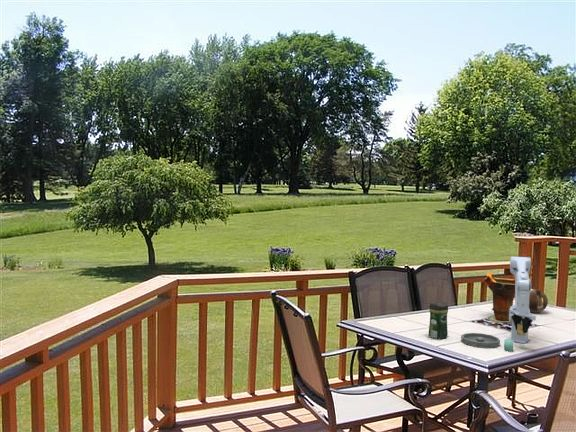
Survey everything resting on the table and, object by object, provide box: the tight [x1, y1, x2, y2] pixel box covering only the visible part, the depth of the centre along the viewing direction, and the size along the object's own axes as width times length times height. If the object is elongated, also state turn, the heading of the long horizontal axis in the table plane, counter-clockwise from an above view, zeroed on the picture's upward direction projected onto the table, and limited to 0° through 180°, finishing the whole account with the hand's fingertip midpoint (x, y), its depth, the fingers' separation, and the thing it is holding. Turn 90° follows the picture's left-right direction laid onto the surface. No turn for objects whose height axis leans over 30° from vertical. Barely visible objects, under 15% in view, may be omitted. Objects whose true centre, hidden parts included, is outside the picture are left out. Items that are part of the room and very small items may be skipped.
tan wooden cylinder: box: [517, 323, 526, 336], centre depth 261 cm, size 4×4×5 cm
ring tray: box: [460, 332, 501, 349], centre depth 269 cm, size 18×18×2 cm
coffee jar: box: [428, 300, 449, 340], centre depth 278 cm, size 10×8×19 cm
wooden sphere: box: [529, 288, 549, 314], centre depth 340 cm, size 15×15×15 cm
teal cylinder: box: [503, 338, 514, 353], centre depth 257 cm, size 4×4×5 cm
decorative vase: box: [483, 271, 515, 324], centre depth 318 cm, size 21×23×28 cm
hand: (521, 331), depth 261 cm, fingers closed on tan wooden cylinder, 4 cm apart
